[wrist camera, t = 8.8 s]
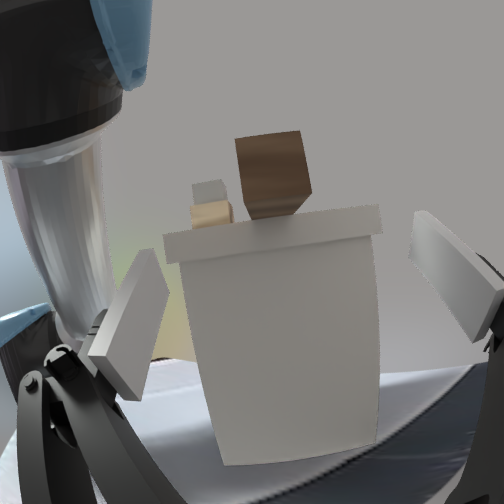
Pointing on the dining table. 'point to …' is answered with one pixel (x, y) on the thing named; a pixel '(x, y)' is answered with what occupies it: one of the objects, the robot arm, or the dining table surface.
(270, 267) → the cream stand
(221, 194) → the grey offcut
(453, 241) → the robot arm
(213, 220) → the birch offcut
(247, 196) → the walnut block
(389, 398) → the dining table surface
